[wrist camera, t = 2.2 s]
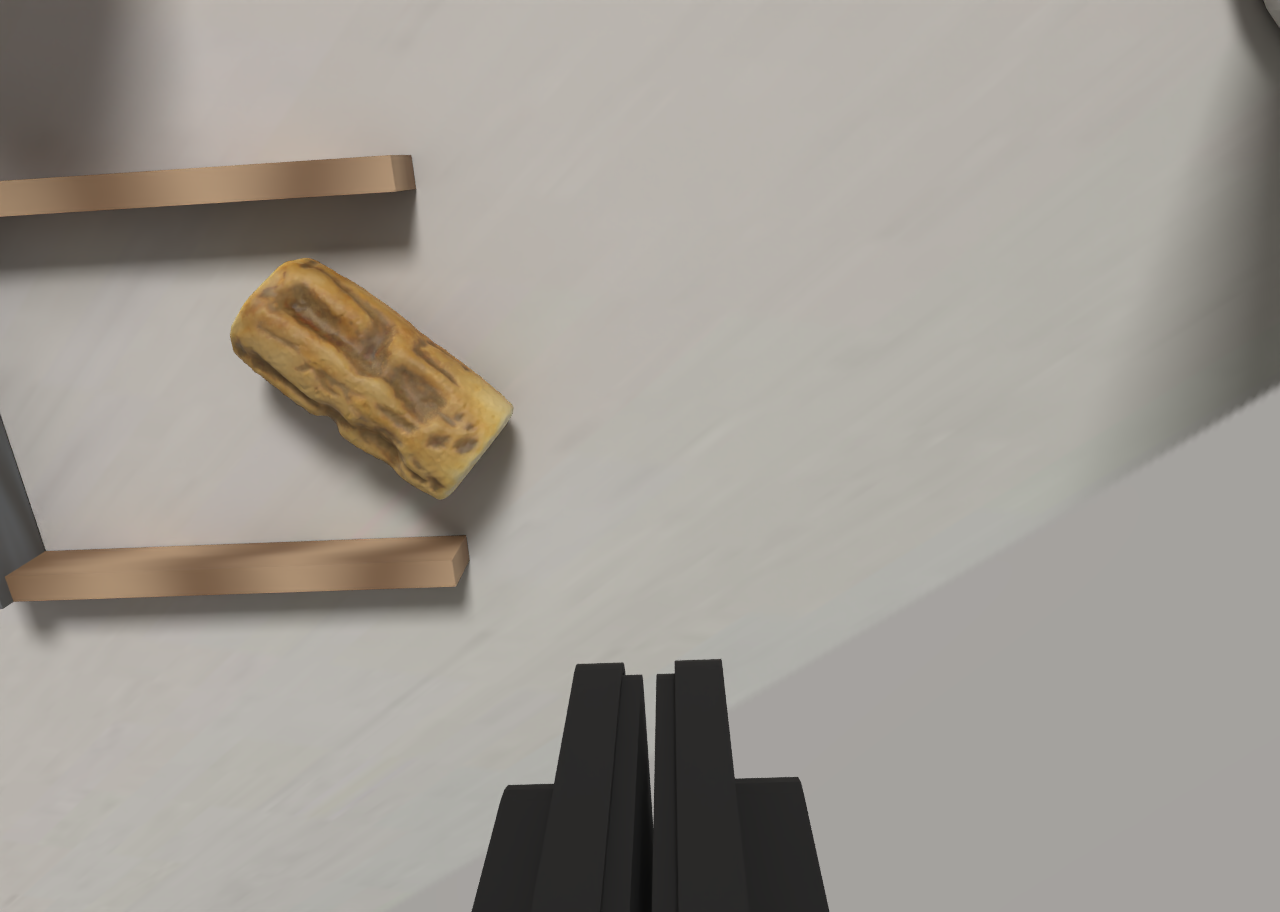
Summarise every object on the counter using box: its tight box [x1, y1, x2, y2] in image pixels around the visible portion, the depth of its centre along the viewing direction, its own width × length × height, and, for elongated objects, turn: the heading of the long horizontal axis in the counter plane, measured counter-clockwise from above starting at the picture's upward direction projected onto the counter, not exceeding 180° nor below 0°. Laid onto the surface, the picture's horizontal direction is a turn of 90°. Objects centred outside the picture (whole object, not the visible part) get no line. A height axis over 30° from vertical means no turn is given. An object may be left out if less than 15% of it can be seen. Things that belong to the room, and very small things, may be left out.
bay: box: [0, 155, 469, 609], centre depth 26 cm, size 18×18×5 cm
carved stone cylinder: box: [230, 258, 513, 500], centre depth 27 cm, size 8×4×4 cm, turn 52°
